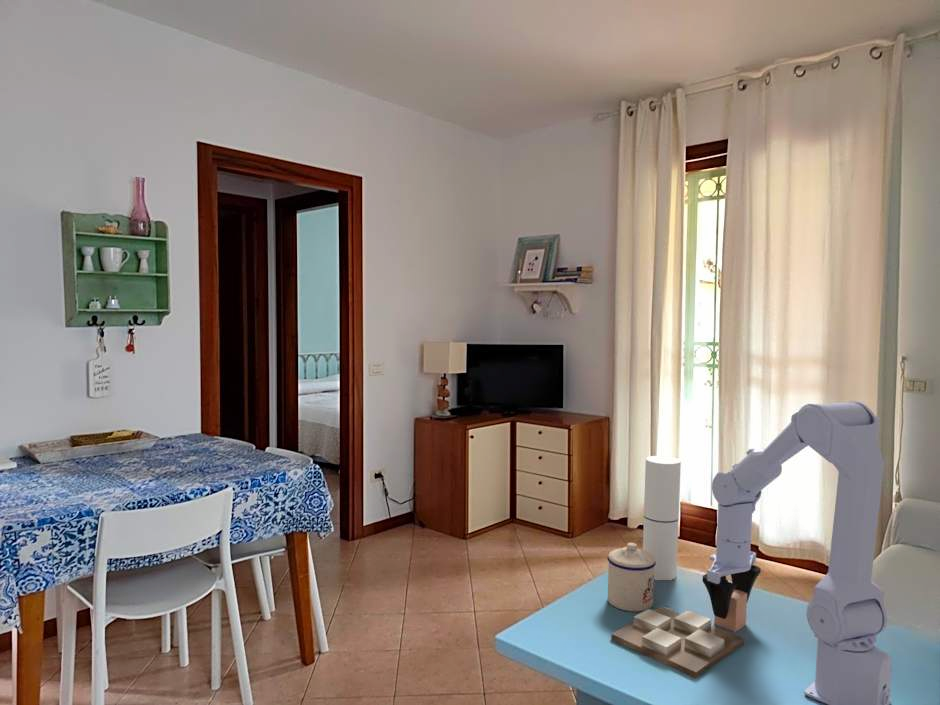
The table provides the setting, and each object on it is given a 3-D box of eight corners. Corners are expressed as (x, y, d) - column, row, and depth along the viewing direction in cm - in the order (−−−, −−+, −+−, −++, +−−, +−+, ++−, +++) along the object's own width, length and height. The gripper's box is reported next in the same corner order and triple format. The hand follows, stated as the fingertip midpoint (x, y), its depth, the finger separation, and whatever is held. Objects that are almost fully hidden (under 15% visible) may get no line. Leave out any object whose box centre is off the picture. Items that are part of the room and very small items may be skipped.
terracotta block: (745, 624, 123) (747, 593, 123) (735, 632, 121) (736, 599, 120) (724, 617, 126) (726, 586, 126) (714, 623, 124) (715, 592, 123)
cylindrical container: (641, 578, 143) (645, 462, 141) (642, 565, 150) (646, 454, 148) (676, 582, 141) (680, 465, 139) (676, 569, 148) (680, 457, 146)
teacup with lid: (653, 616, 126) (655, 555, 125) (604, 609, 129) (605, 549, 128) (655, 589, 138) (657, 533, 137) (609, 583, 140) (611, 529, 139)
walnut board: (743, 643, 116) (744, 629, 116) (695, 678, 106) (696, 663, 105) (661, 611, 128) (662, 598, 128) (611, 639, 117) (611, 625, 117)
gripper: (731, 523, 130) (728, 591, 131) (692, 540, 120) (689, 614, 121) (768, 532, 125) (764, 603, 126) (730, 552, 115) (727, 629, 116)
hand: (730, 610), depth 123 cm, fingers open, 7 cm apart
